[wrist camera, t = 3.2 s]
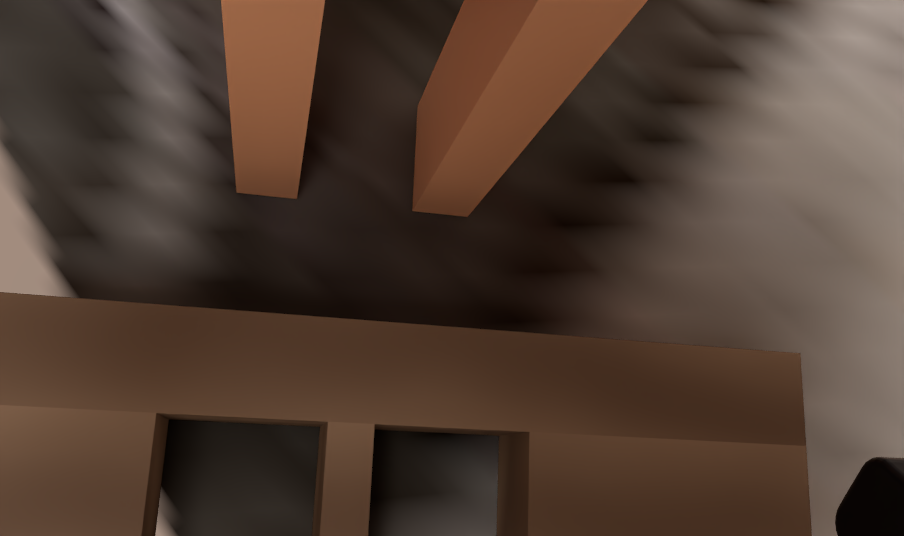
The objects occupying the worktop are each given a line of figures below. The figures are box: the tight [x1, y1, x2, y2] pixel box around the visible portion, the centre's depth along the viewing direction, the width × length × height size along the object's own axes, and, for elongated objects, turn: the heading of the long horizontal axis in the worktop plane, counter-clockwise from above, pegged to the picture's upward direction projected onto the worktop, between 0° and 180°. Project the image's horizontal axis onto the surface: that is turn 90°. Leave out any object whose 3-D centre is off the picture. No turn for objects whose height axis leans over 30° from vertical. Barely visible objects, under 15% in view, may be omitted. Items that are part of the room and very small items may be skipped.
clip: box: [221, 0, 648, 217], centre depth 16 cm, size 3×6×13 cm, turn 87°
